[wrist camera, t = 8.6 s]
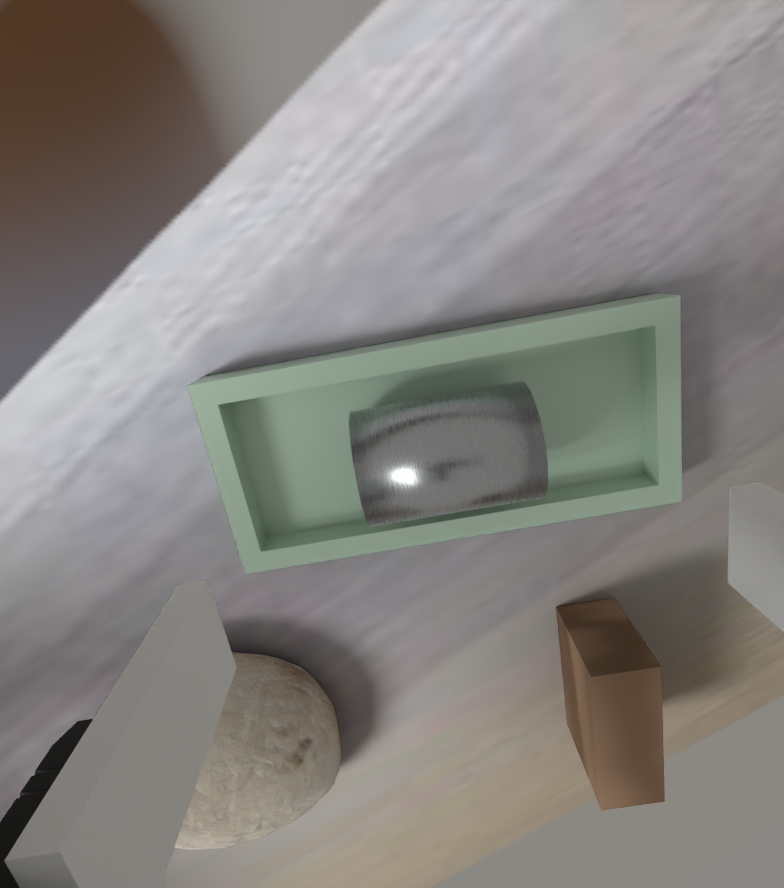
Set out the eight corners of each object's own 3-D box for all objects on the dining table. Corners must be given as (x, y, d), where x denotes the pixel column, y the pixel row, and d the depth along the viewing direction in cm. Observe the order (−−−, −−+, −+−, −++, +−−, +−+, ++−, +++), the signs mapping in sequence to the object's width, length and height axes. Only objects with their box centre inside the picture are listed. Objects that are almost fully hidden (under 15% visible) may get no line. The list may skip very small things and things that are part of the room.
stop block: (567, 725, 30) (601, 810, 26) (555, 607, 28) (591, 677, 23) (620, 717, 30) (664, 801, 25) (614, 597, 28) (661, 666, 23)
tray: (255, 552, 27) (245, 574, 25) (202, 376, 24) (187, 385, 22) (660, 484, 26) (682, 501, 24) (656, 292, 23) (680, 295, 21)
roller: (353, 401, 24) (344, 426, 19) (510, 373, 23) (539, 391, 19) (374, 501, 25) (370, 547, 20) (523, 476, 25) (553, 516, 20)
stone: (339, 638, 34) (342, 650, 26) (340, 819, 31) (343, 890, 24) (126, 647, 32) (63, 662, 25) (108, 837, 30) (31, 919, 22)
